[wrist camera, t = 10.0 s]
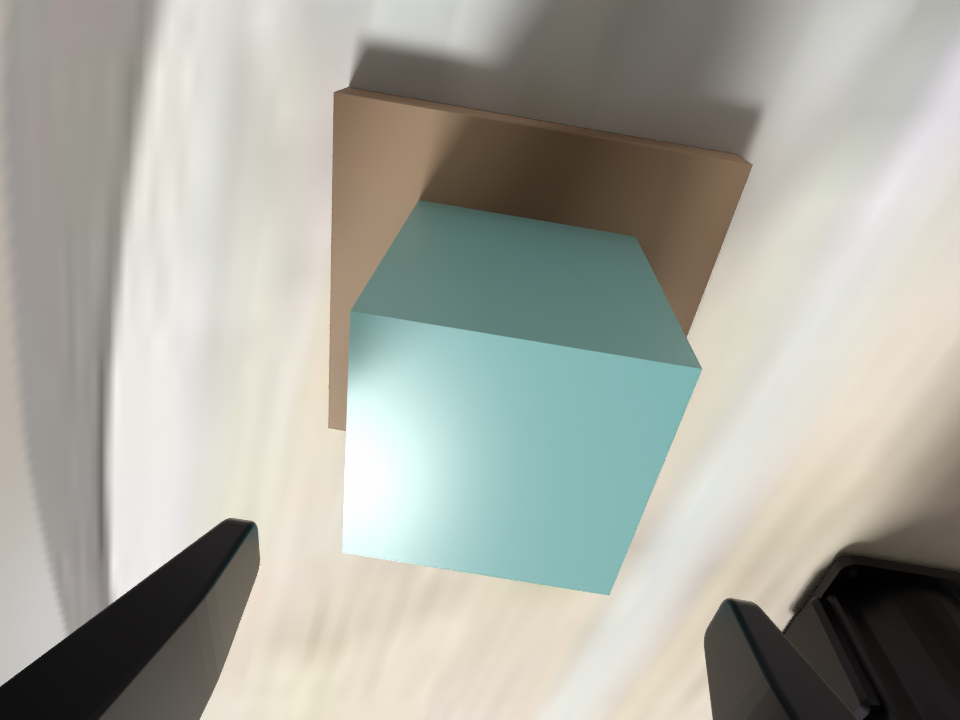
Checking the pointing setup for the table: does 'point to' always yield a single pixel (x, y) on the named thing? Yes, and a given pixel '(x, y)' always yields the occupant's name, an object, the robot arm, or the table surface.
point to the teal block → (509, 398)
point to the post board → (515, 193)
